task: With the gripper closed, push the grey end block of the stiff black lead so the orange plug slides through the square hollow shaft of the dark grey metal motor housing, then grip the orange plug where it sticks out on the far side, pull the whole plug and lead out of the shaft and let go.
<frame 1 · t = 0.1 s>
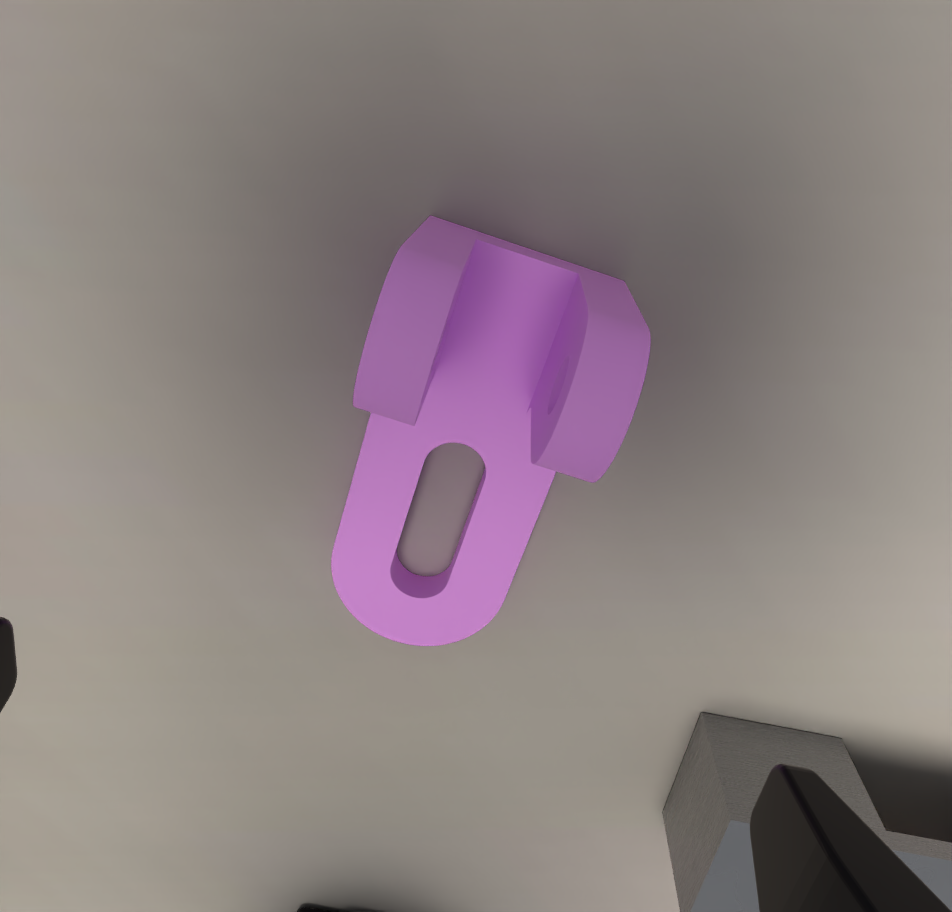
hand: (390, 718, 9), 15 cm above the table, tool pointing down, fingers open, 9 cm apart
motor housing: (896, 804, 28), on the table
bracket: (459, 449, 24), on the table
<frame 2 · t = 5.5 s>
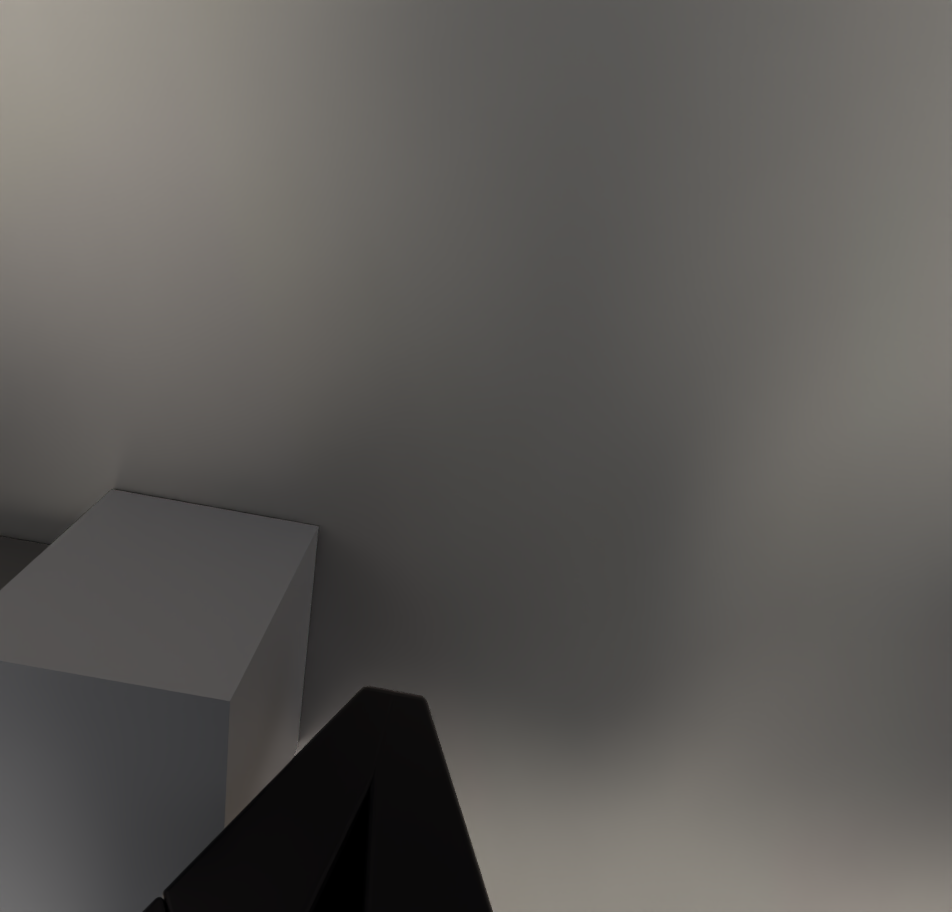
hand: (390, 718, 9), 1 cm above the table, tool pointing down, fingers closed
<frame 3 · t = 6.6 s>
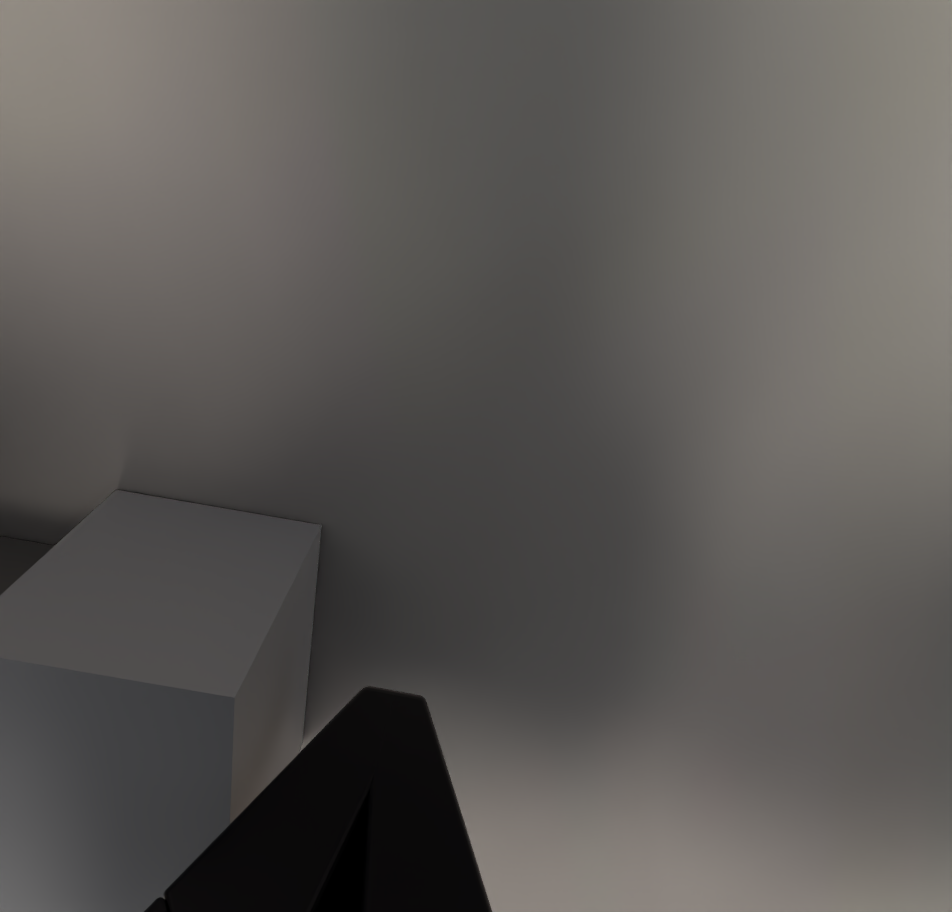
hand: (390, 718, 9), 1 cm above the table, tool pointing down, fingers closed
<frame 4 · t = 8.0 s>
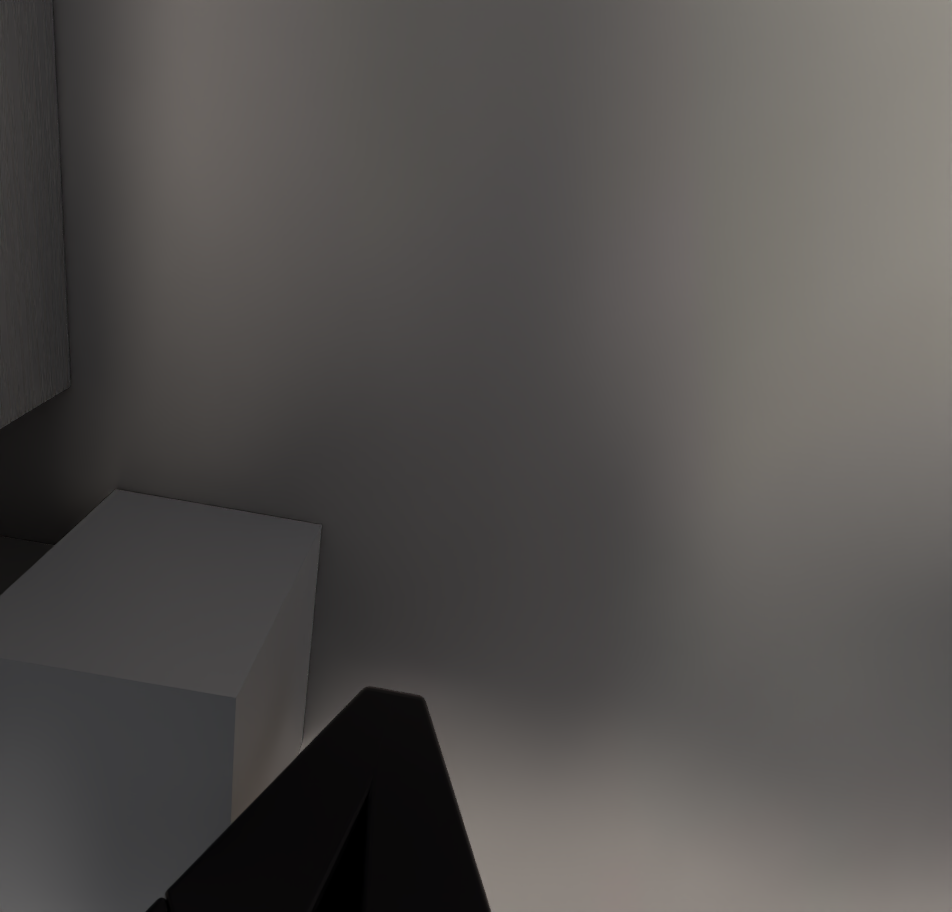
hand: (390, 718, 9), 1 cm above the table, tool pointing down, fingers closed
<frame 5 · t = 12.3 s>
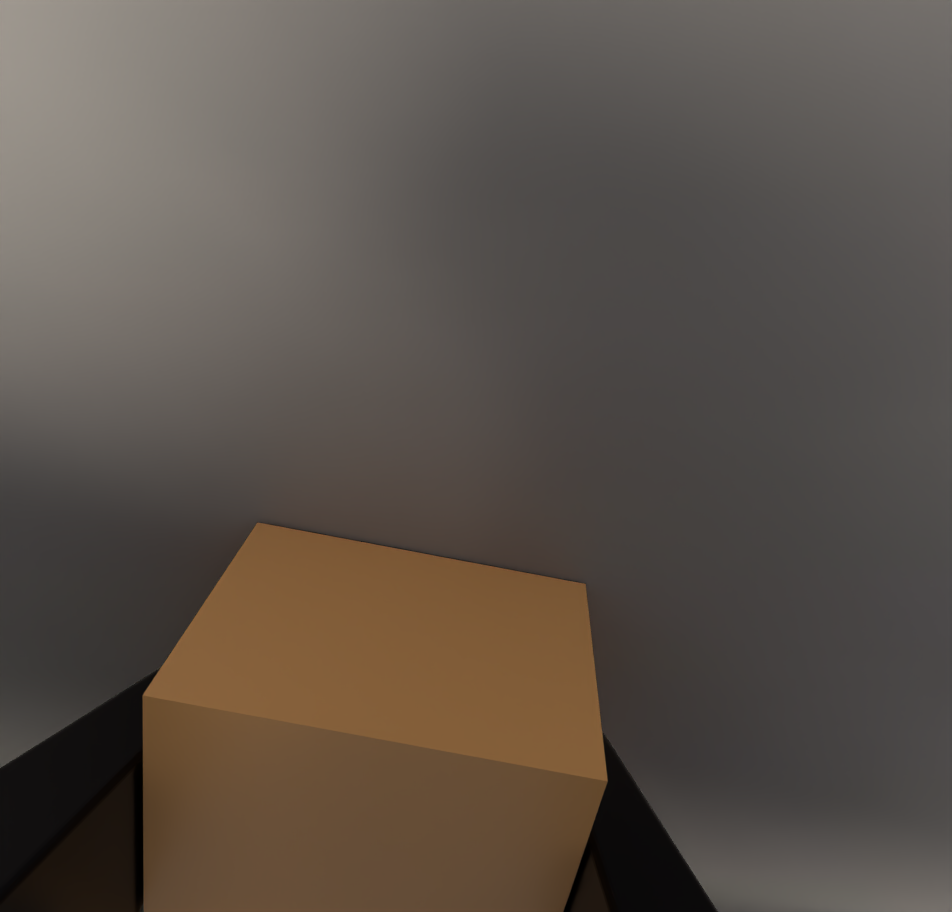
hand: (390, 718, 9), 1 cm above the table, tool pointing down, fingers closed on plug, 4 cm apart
plug: (402, 667, 10), on the table, touching gripper
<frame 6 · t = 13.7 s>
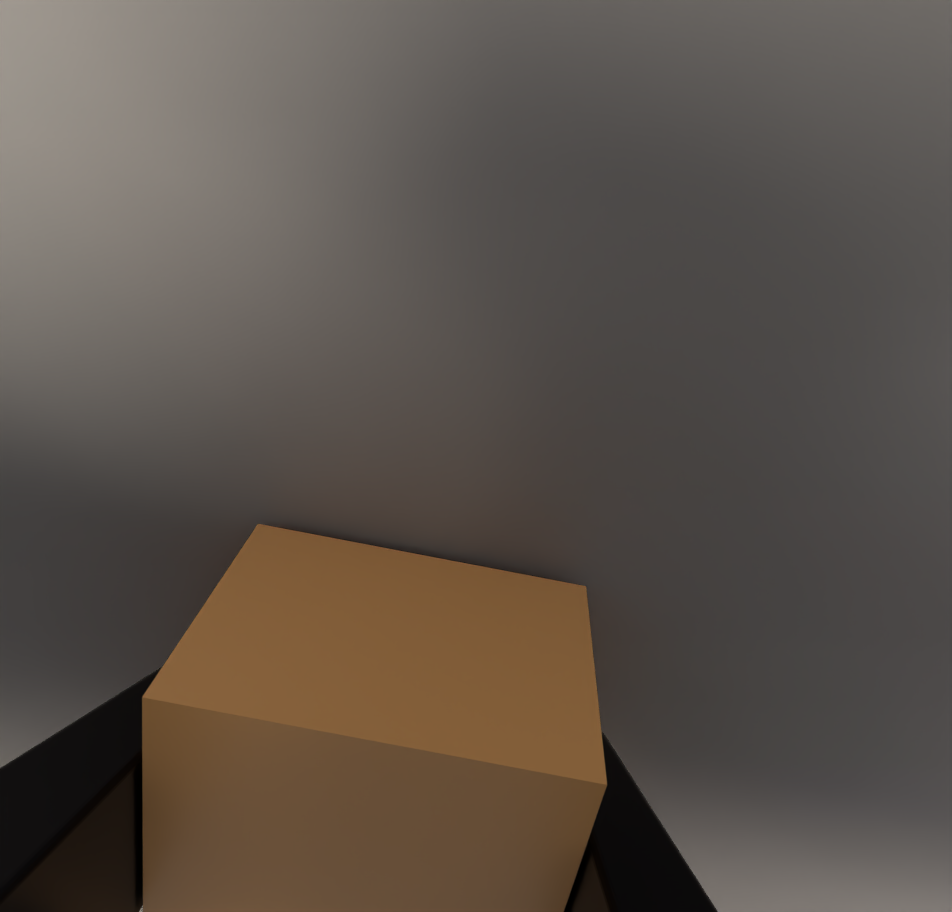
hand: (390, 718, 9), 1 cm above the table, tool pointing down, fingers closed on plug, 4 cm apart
plug: (402, 668, 10), on the table, touching gripper
when the fingers open (1 cm above the table, at t = 15.4 s): plug stays where it is, on the table.
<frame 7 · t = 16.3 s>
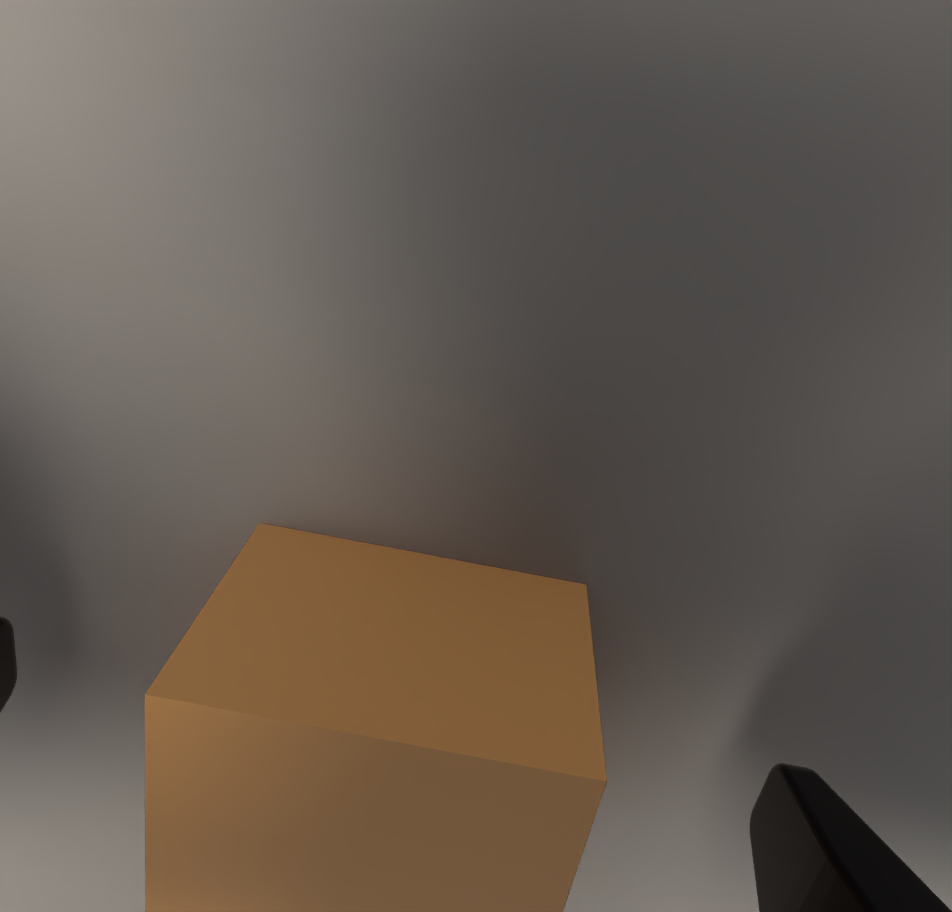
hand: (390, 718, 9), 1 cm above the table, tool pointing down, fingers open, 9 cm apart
plug: (403, 667, 10), on the table
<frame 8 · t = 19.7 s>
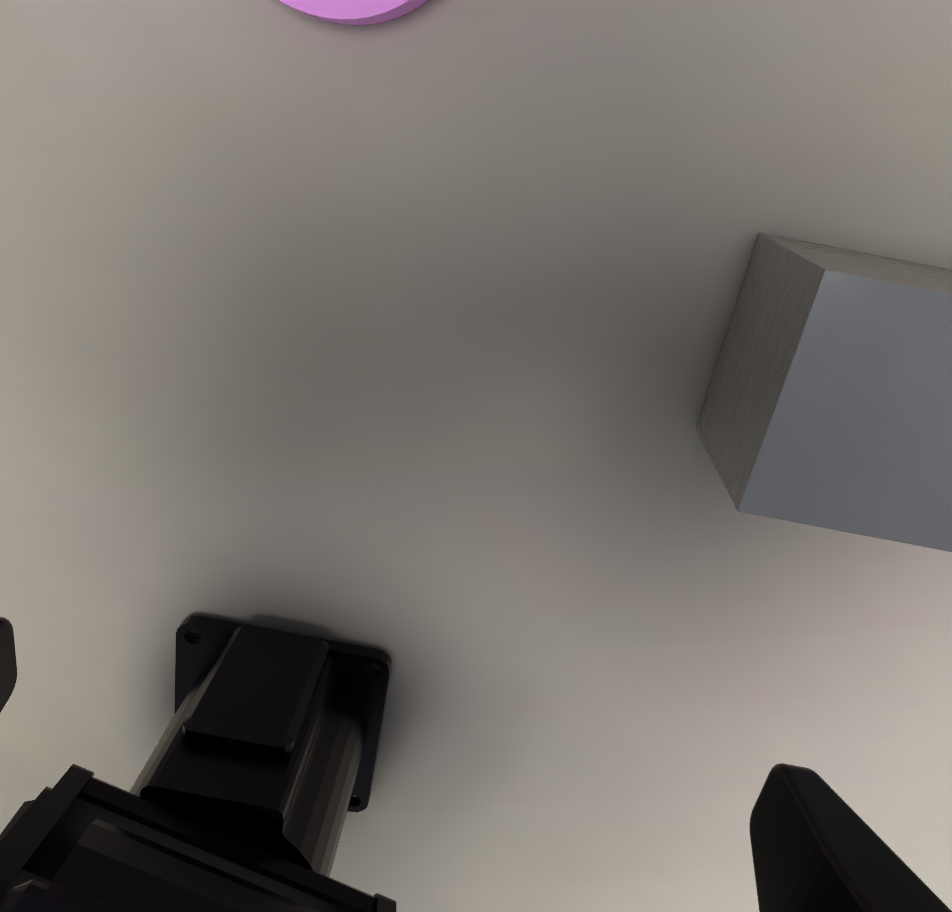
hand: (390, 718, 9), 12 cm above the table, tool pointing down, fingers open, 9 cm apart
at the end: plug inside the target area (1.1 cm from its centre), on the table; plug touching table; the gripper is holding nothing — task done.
